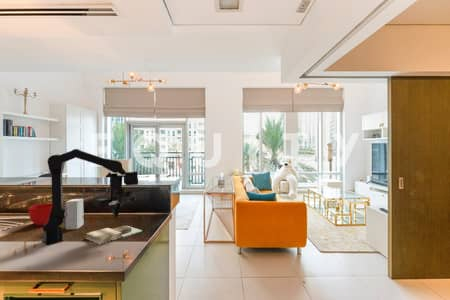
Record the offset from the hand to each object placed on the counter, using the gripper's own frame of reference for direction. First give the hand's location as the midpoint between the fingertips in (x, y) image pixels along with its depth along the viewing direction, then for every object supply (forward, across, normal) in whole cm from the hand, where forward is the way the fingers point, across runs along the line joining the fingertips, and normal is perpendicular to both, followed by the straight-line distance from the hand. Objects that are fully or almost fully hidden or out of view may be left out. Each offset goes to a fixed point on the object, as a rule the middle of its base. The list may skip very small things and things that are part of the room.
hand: (115, 217), depth 127 cm
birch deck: (+9, -6, 0) cm, 11 cm away
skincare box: (+9, -7, +28) cm, 30 cm away
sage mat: (+9, +5, 0) cm, 10 cm away
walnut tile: (+8, +3, 0) cm, 9 cm away
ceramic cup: (+9, -13, +49) cm, 51 cm away
